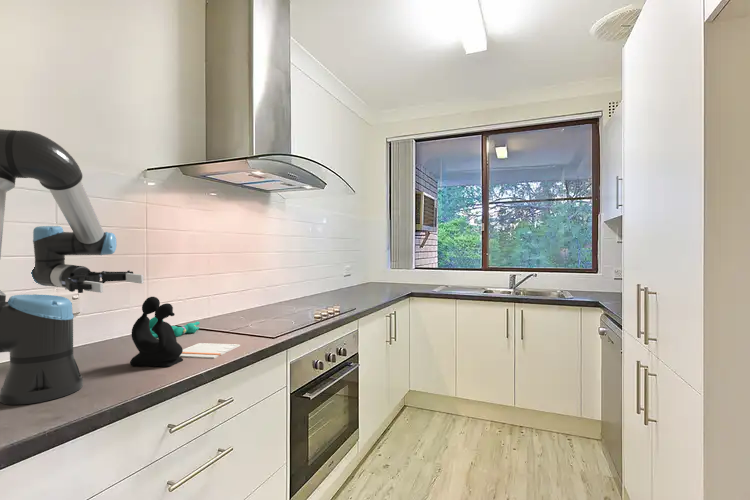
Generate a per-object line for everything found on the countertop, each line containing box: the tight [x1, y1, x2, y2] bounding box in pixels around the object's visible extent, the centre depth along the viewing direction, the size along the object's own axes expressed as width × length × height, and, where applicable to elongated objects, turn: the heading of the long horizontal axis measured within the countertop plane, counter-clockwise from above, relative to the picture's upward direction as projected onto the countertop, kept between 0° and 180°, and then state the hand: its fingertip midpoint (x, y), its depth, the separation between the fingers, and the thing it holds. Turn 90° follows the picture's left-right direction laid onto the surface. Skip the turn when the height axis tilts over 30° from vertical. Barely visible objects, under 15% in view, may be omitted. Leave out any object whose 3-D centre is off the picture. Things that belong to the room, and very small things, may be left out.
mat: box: [179, 342, 241, 359], centre depth 133 cm, size 16×16×1 cm
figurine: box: [129, 296, 184, 368], centre depth 119 cm, size 14×9×20 cm, turn 83°
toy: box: [149, 316, 200, 339], centre depth 159 cm, size 7×22×20 cm
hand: (123, 283), depth 120 cm, fingers open, 13 cm apart
